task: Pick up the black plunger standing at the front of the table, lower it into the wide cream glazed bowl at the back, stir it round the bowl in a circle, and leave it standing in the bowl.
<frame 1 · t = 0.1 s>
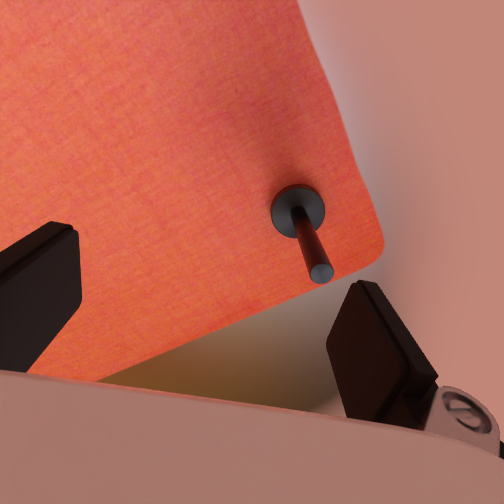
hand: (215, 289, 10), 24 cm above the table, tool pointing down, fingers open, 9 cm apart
black plunger: (296, 209, 35), on the table
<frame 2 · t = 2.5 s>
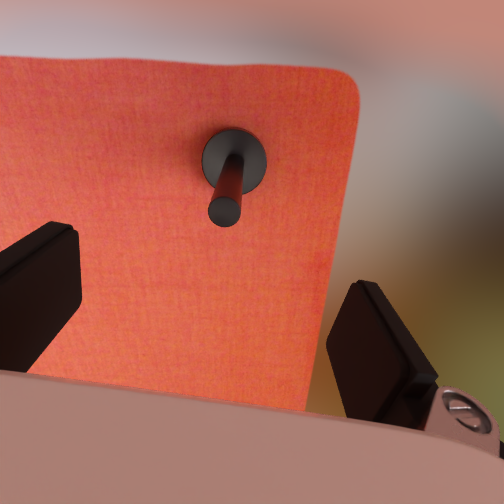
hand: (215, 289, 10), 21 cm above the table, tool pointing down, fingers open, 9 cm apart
black plunger: (234, 161, 29), on the table
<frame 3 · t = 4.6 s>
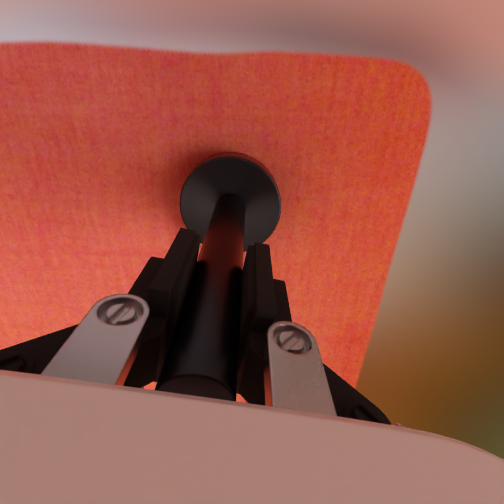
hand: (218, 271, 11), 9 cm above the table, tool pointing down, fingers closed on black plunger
black plunger: (231, 201, 19), on the table, touching gripper
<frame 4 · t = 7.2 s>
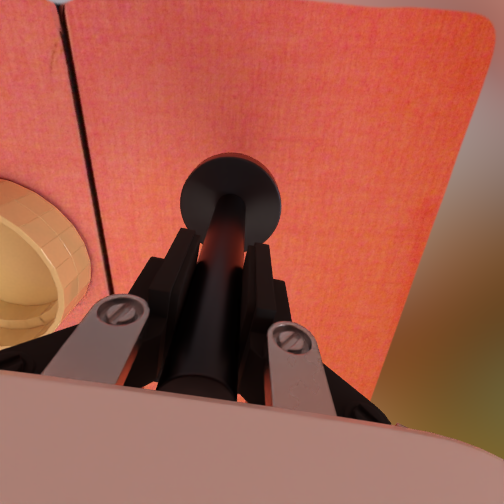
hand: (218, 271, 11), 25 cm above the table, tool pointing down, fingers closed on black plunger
bowl: (12, 252, 39), on the table
black plunger: (232, 201, 19), point 16 cm above the table, touching gripper
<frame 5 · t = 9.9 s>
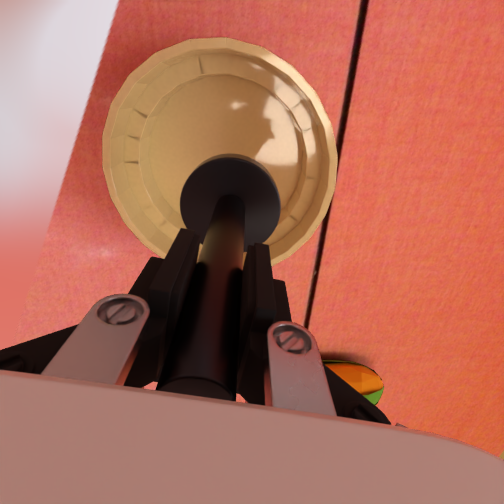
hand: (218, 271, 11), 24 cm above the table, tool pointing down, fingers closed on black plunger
bowl: (226, 162, 33), on the table
black plunger: (231, 202, 19), point 15 cm above the table, touching gripper
corn: (309, 368, 48), on the table
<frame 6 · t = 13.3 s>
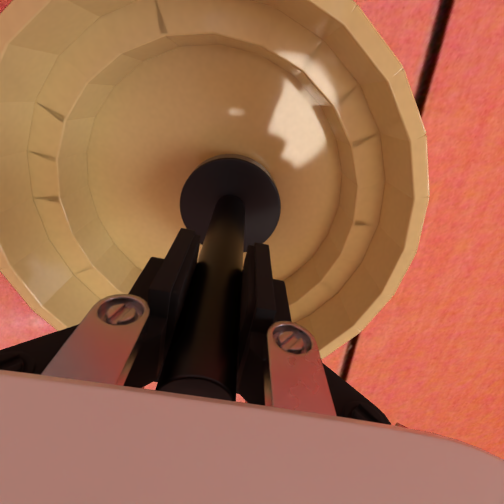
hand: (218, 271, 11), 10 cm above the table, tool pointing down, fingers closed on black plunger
bowl: (216, 192, 20), on the table
black plunger: (231, 202, 19), point 1 cm above the table, touching gripper
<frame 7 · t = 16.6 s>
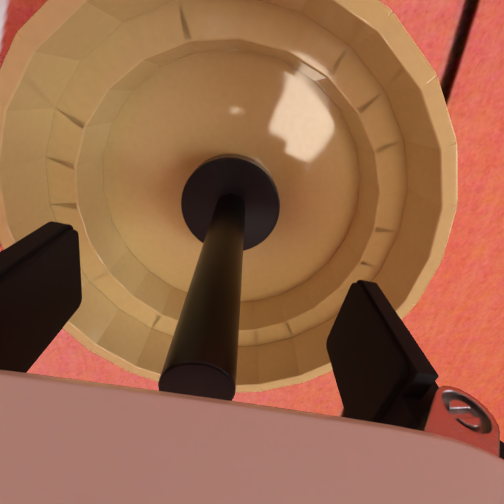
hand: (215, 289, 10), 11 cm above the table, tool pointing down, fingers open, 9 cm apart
bowl: (232, 197, 20), on the table
black plunger: (231, 201, 19), point 1 cm above the table, touching bowl
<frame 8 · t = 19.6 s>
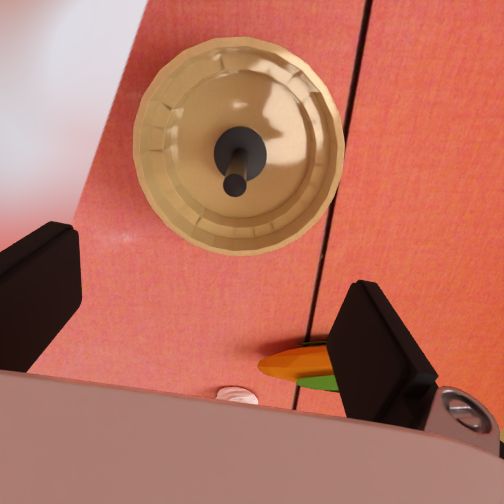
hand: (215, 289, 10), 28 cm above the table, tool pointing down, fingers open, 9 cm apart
whipped cream: (236, 396, 56), on the table
bowl: (240, 152, 35), on the table
black plunger: (240, 153, 35), point 1 cm above the table, touching bowl
corn: (316, 349, 50), on the table
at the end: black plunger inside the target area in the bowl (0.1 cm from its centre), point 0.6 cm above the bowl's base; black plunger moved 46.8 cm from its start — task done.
